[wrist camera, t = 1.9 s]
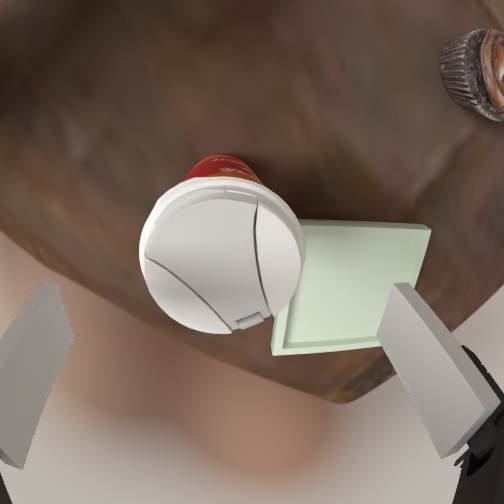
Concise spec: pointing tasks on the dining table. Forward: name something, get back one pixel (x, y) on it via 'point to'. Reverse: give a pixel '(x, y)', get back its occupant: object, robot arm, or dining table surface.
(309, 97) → the dining table surface
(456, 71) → the cupcake
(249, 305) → the coffee cup
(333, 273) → the tray
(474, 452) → the robot arm
